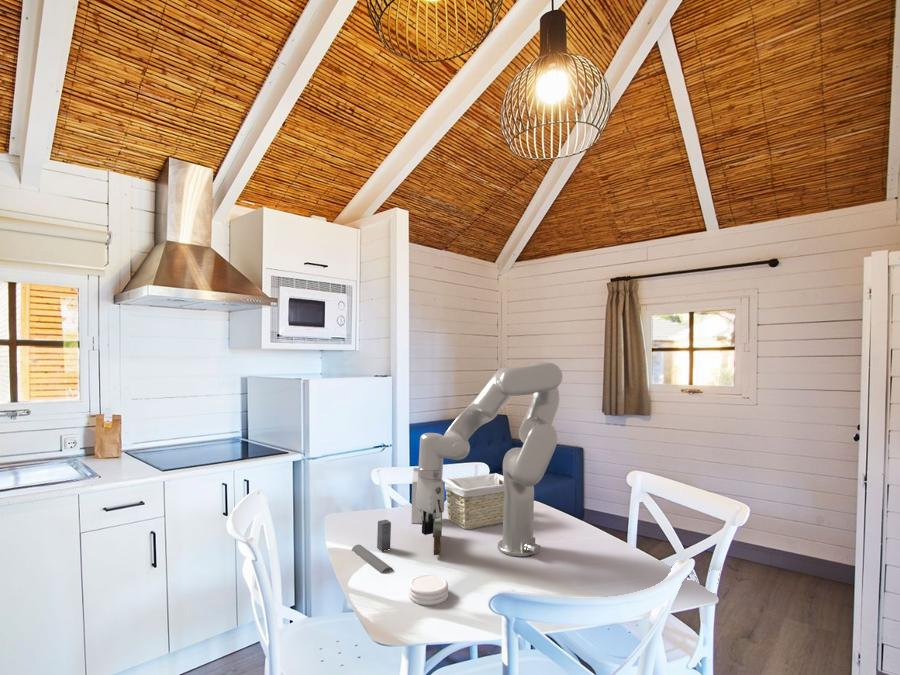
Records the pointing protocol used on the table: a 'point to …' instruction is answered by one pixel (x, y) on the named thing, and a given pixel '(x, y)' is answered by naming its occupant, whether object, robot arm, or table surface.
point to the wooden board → (437, 535)
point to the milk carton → (415, 512)
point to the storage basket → (475, 500)
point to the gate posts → (389, 534)
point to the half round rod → (371, 559)
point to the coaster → (428, 589)
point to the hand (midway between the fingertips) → (427, 533)
